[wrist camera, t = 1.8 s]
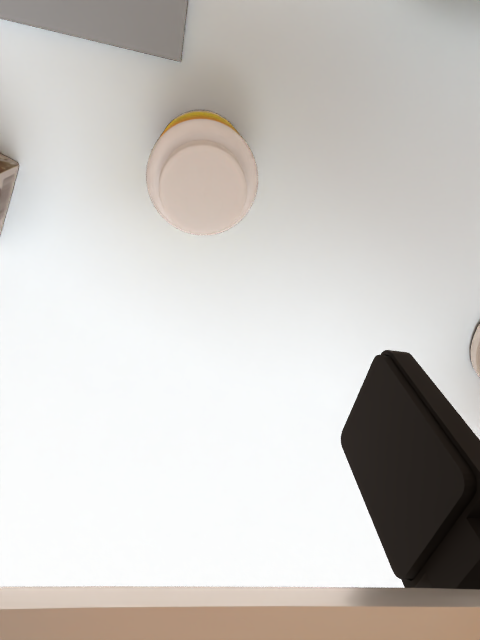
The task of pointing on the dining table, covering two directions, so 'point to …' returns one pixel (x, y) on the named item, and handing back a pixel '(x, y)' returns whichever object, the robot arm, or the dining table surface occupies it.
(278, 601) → the robot arm
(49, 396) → the dining table surface
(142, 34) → the flat gray board
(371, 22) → the dining table surface
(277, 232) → the dining table surface
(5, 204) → the coffee box
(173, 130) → the supplement bottle
